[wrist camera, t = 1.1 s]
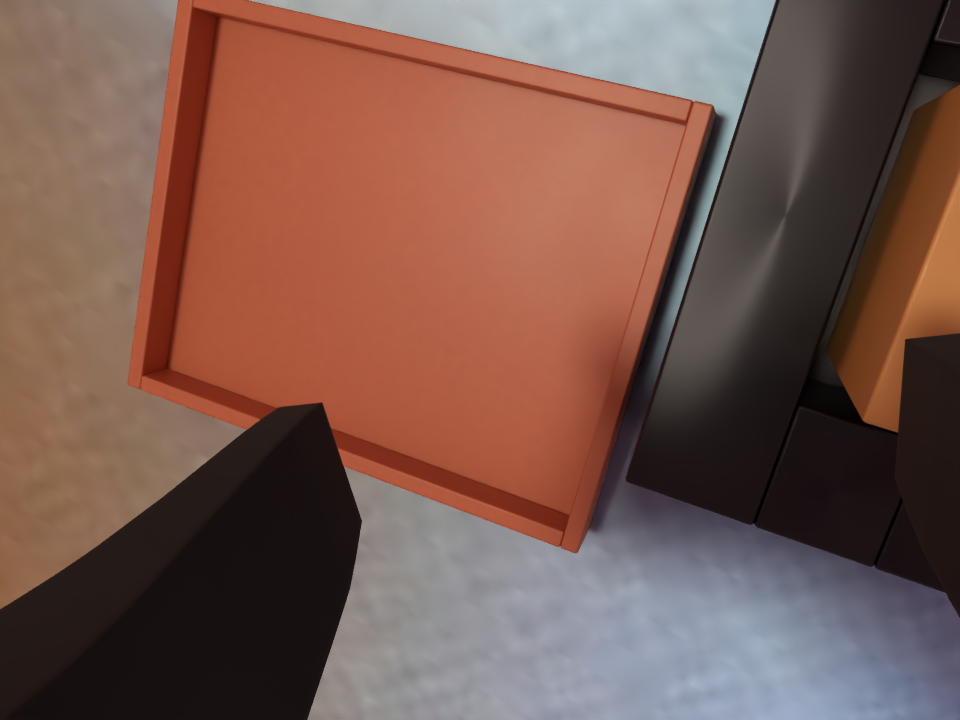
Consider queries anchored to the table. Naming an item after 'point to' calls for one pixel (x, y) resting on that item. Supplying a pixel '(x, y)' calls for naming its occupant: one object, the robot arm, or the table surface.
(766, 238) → the toaster
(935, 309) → the toast
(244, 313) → the red tray
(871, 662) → the table surface
